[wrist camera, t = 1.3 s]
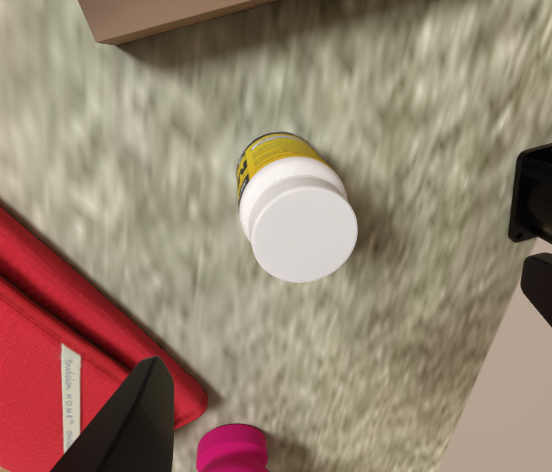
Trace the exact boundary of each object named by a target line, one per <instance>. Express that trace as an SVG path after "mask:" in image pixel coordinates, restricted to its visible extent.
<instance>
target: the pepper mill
mask: <svg viewBox="0 0 552 472" xmlns="http://www.w3.org/2000/svg"><path fill="white" fill-rule="evenodd" d="M267 460H268V456H267V446H266V439H265V437H264V435H263V433H262V432H260V431H259V430H258V429H257V428H254V427H252V426H249V425H244V424H229V425H224V426H220V427H217V428H215V429H213V430H211V431H210V432H208V433H207V434H205V435H204V437H203V438H202V439H201V440H200V442H199V444H198V450H197V462H196V468H197V470H198V472H269V471H268V470H267V469H266V468H265V466H266V464H267Z"/></svg>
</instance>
